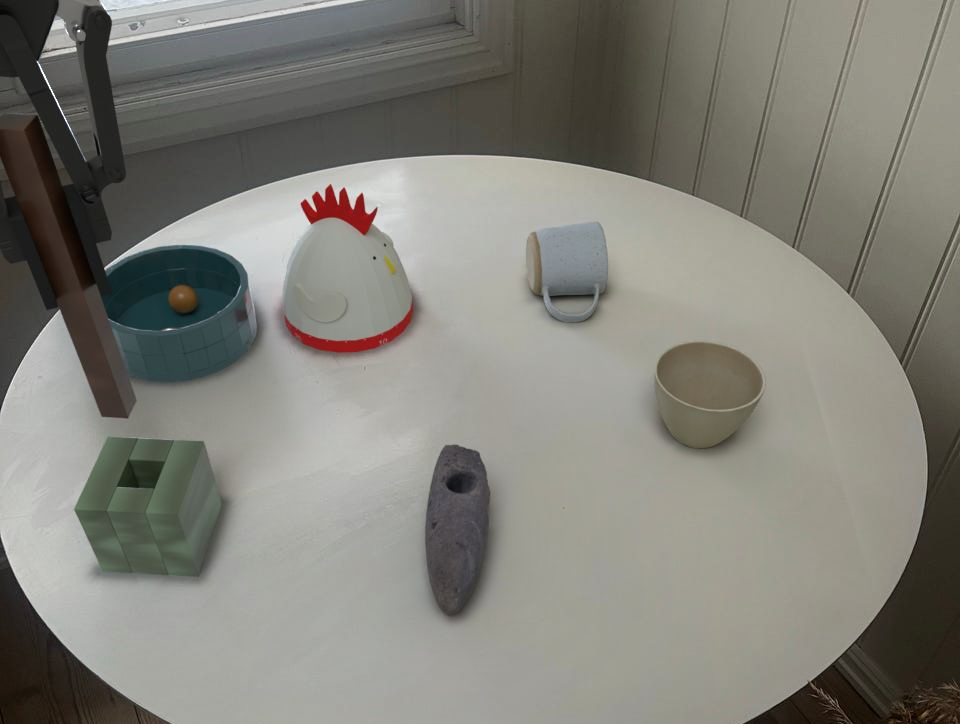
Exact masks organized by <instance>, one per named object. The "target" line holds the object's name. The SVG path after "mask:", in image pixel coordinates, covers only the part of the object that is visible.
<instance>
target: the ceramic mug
mask: <svg viewBox="0 0 960 724" xmlns="http://www.w3.org/2000/svg"><path fill="white" fill-rule="evenodd" d="M525 244H526V245H525V263H526V264H525V265H526V272H527V279H528V284H529V288H530V290H531V291H532V293H534V294H535V295H537V296H543V302H544V305H545V307H546V309H547V311H548V313H549V314H550V315H551V316H552V317H553V318H555V319H556V320H558V321H560V322H563V323H580V322H583V321H586V320H587V319H588V318H590V317H591V316H592V314H593V313H594V312H595V310H596V308H597V306H598V302H599V297H600V294H603V293H604V292H605V290H606V289H607V288H606V287H607V283H608V277H609V276H608V275H609V260H608V259H609V258H608V247H607V239H606V235H605V231H604V228H603V226H602V225H601V223H600V222H599V221H590V222H584V223H583V222H582V223H575V224H568V225H561V226H552V227H546V228H541V229H538V230H535V231H532V232H530V233H529V235H527V238H526V243H525ZM579 295H580V296H583V295H593V301H592V303H591V304H590V306H588V307H587V308H586V310H584V311H583V312H581V313H575V314H574V313H567V312H565V311H562V310H560V309H558V308H556V307H555V306H554V304H553V302H552V301H551V298H550V297H553V296H579Z"/></svg>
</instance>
